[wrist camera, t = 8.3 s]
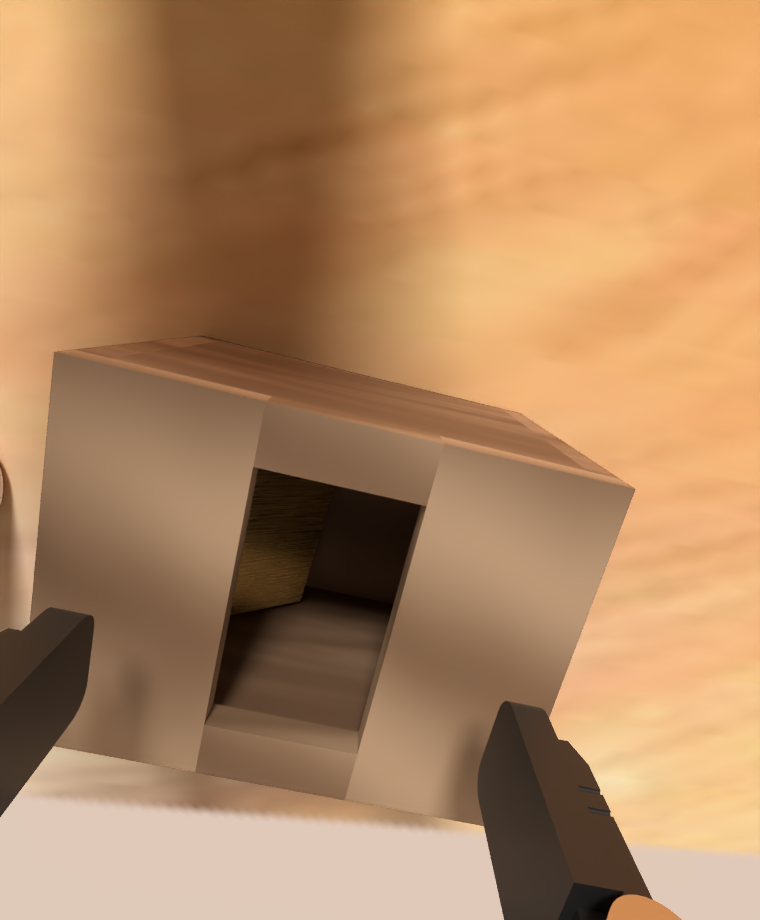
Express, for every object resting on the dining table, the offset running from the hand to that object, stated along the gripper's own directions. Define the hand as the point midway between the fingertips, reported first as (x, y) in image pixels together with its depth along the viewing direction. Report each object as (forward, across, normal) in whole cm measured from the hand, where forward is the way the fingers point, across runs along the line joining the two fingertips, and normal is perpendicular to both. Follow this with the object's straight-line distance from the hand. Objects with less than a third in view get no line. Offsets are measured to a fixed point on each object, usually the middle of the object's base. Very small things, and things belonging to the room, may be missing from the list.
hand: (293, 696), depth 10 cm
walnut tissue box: (+13, 0, 0) cm, 13 cm away
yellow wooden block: (+10, +3, +4) cm, 11 cm away
